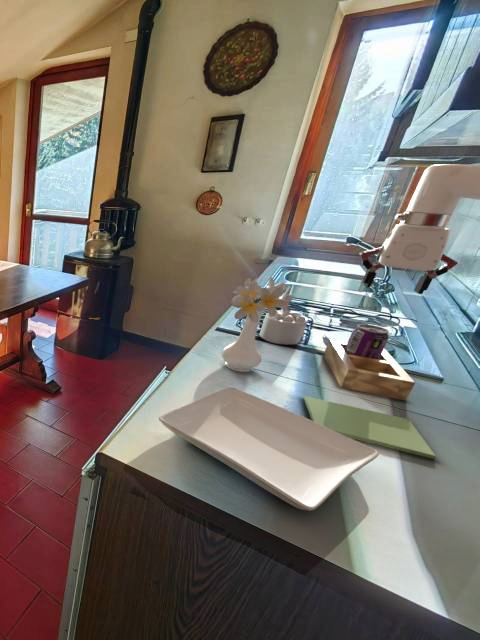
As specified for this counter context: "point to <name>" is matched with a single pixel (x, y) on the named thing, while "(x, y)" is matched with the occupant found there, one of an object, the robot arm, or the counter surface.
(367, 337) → the beverage can
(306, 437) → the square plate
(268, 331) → the lumpy-topped squat cylinder
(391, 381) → the can rack
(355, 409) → the mat
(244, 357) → the flower vase
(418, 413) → the counter surface
